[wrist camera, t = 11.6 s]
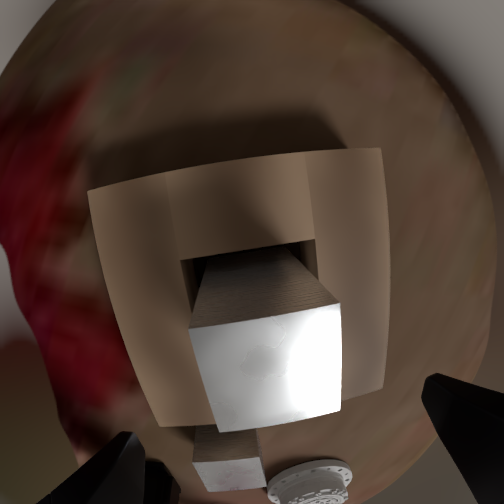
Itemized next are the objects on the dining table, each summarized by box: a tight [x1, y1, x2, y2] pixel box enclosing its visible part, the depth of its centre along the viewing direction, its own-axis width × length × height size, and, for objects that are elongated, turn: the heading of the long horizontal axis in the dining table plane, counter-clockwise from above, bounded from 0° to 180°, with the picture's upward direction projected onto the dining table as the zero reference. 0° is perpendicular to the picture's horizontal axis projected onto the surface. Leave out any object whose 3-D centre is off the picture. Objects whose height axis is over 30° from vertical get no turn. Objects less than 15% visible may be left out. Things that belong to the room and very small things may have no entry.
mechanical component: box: [267, 459, 352, 504], centre depth 23 cm, size 10×4×10 cm
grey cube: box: [192, 424, 267, 492], centre depth 20 cm, size 5×5×5 cm
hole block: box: [87, 148, 390, 427], centre depth 17 cm, size 16×16×4 cm
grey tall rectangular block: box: [188, 246, 341, 432], centre depth 14 cm, size 5×5×10 cm
